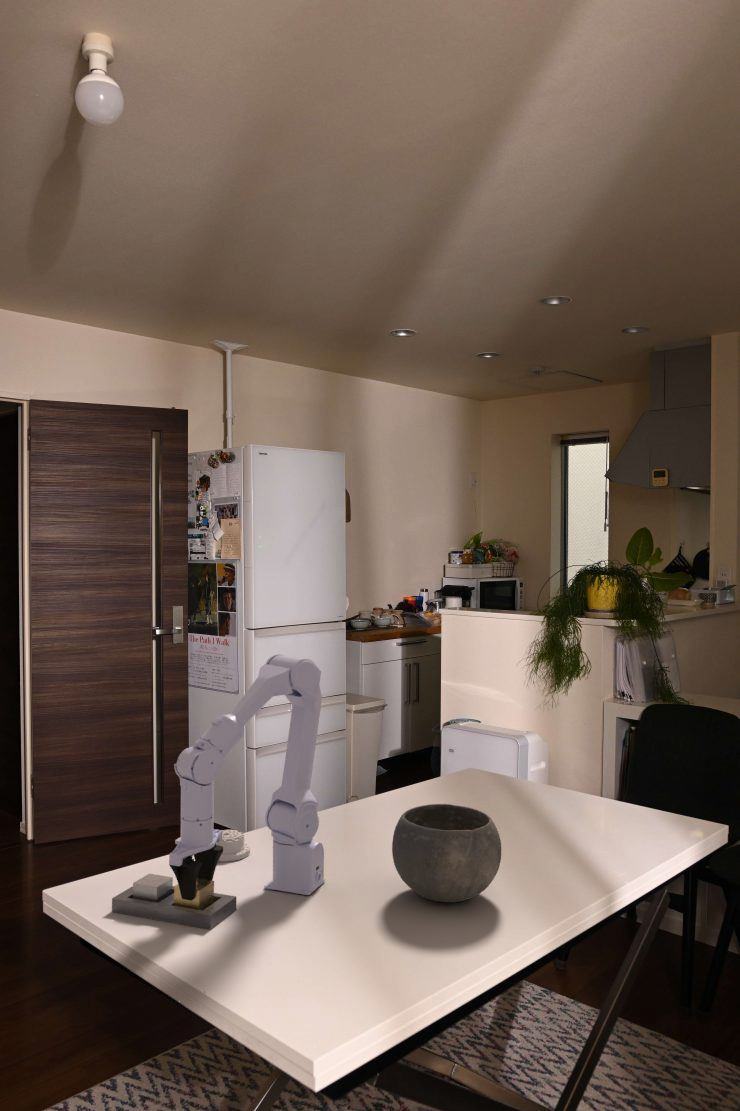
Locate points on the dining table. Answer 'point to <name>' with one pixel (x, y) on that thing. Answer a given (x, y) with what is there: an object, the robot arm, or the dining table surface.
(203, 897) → the brushed gold cube
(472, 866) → the bowl
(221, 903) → the grey tray
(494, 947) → the dining table surface
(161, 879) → the silver gray cube
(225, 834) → the mechanical component
